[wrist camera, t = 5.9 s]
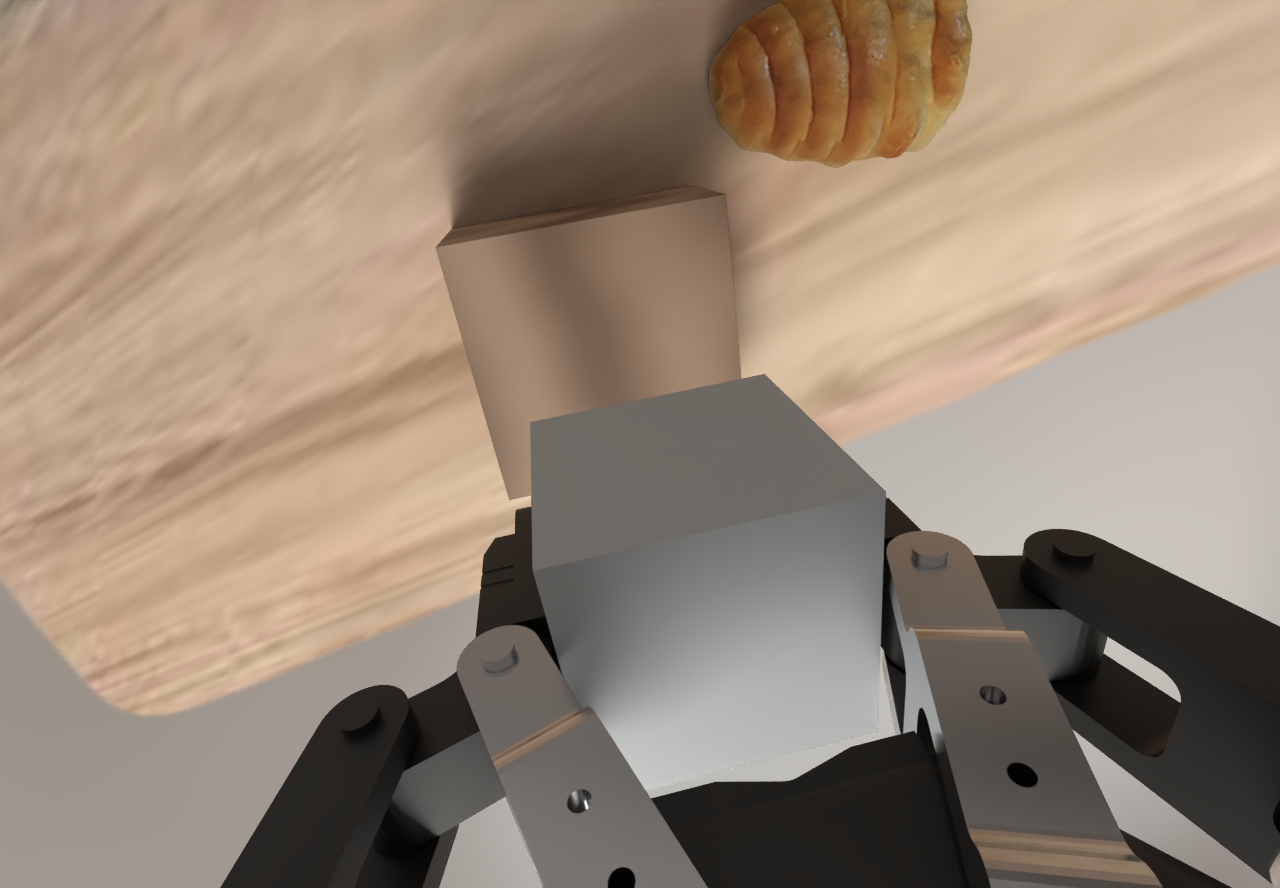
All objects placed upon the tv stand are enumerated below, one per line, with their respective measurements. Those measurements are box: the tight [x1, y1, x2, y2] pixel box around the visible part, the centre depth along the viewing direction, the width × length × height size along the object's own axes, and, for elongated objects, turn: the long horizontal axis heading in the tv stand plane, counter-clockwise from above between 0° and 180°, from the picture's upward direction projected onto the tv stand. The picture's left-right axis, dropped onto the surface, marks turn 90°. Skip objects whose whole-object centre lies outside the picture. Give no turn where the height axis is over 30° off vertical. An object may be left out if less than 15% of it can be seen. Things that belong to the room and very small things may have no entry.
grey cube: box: [530, 374, 886, 791], centre depth 12 cm, size 5×5×5 cm
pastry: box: [709, 0, 972, 168], centre depth 24 cm, size 9×7×4 cm
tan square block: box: [436, 186, 741, 500], centre depth 26 cm, size 10×10×5 cm
